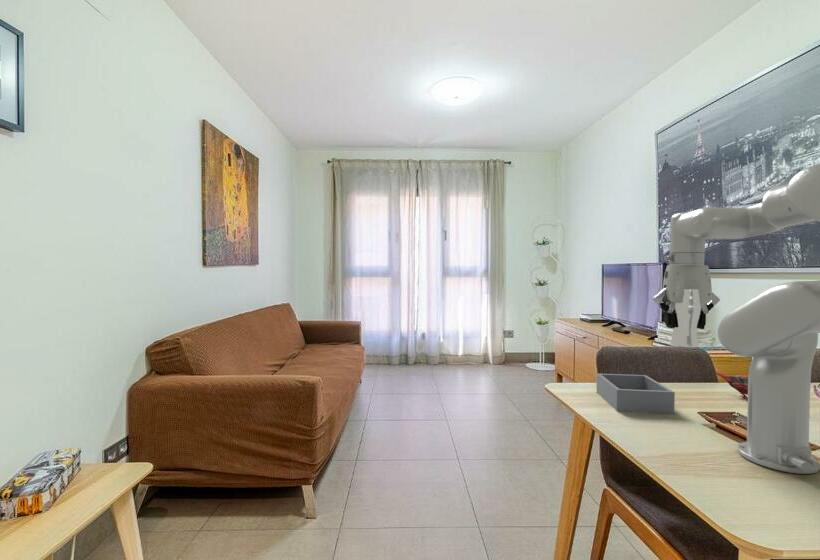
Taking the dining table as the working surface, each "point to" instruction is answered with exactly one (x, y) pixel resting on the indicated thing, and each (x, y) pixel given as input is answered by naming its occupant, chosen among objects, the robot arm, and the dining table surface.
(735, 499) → the dining table surface
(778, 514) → the dining table surface
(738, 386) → the decorative bird figurine
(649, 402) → the box
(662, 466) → the dining table surface
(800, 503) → the dining table surface
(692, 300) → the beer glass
